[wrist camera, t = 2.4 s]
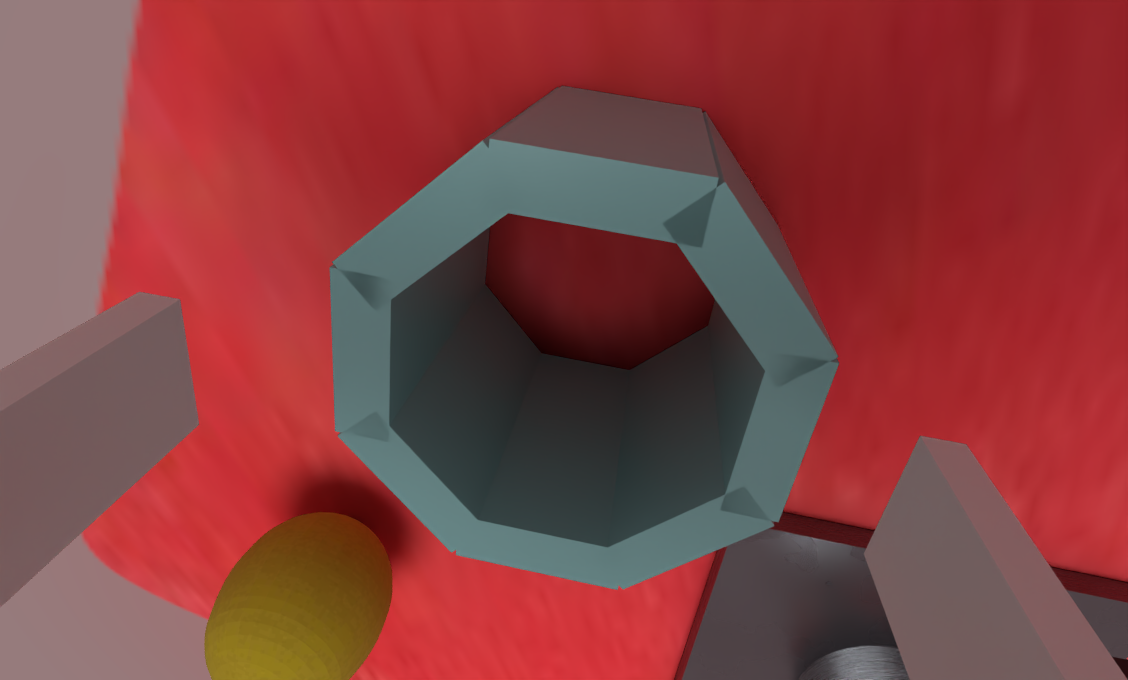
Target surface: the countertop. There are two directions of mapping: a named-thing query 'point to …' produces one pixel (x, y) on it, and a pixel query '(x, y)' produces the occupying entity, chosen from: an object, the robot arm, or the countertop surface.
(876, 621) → the domed lamp fixture
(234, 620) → the lemon
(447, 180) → the collar
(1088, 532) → the countertop surface
